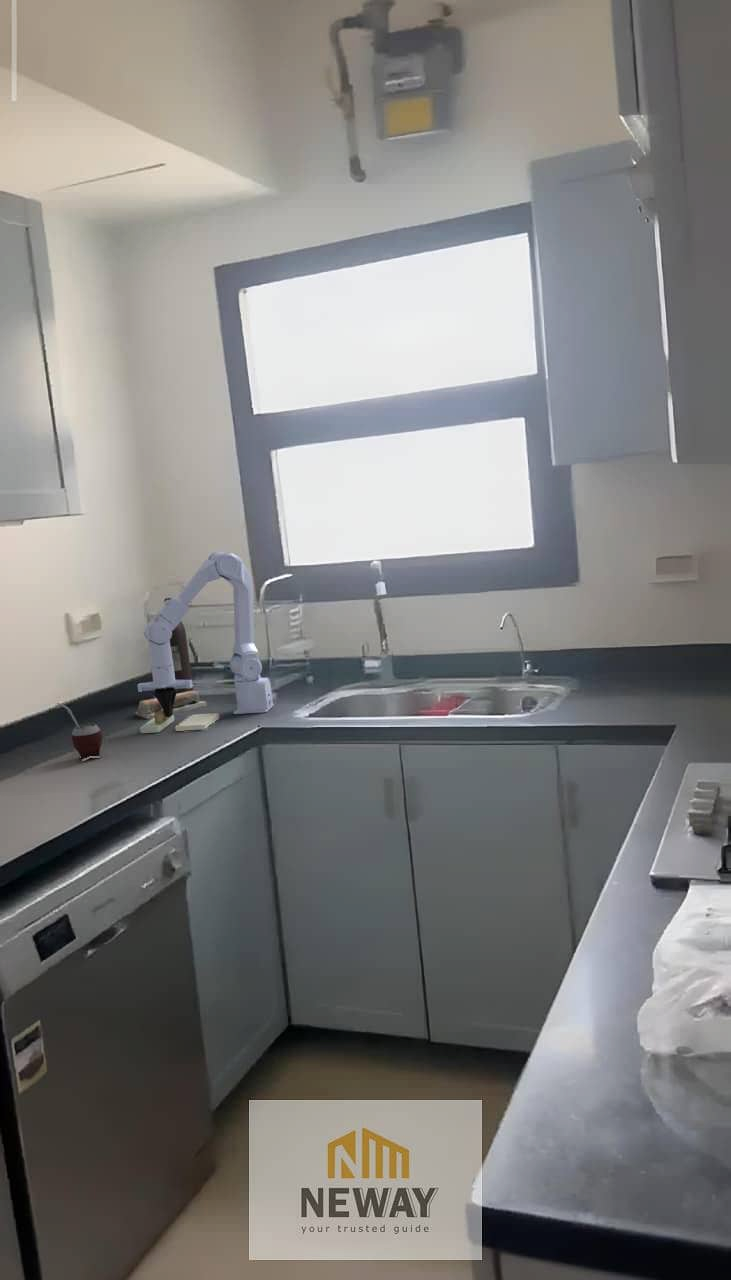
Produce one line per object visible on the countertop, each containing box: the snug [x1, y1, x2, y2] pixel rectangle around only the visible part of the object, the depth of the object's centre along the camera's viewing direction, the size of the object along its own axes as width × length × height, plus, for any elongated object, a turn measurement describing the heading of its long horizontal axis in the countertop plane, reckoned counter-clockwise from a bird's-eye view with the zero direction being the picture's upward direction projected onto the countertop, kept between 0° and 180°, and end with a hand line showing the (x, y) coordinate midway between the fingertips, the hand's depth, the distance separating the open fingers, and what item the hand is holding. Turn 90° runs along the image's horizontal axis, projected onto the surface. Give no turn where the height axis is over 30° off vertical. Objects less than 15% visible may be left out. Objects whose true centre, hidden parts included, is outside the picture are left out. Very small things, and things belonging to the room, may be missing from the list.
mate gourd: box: [56, 702, 103, 760], centre depth 257 cm, size 8×8×15 cm
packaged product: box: [134, 690, 208, 720], centre depth 302 cm, size 18×5×10 cm
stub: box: [139, 709, 175, 734], centre depth 283 cm, size 5×12×4 cm, turn 170°
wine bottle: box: [164, 597, 194, 694], centre depth 317 cm, size 7×7×30 cm
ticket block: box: [174, 712, 220, 732], centre depth 281 cm, size 8×12×2 cm, turn 170°
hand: (169, 716), depth 282 cm, fingers closed
